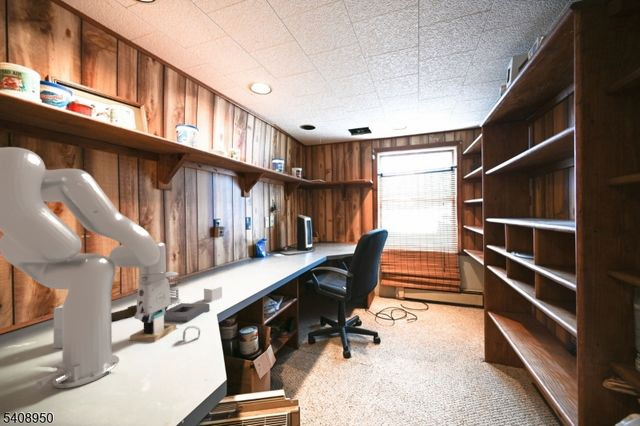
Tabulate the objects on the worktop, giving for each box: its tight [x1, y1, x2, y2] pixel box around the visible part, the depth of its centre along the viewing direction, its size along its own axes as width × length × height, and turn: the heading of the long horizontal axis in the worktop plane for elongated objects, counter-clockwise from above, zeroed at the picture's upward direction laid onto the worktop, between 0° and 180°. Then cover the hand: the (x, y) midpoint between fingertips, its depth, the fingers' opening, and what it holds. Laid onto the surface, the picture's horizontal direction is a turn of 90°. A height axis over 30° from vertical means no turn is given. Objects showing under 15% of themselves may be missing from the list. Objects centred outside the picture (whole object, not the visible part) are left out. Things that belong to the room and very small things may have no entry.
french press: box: [166, 251, 182, 306], centre depth 120 cm, size 10×12×25 cm
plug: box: [144, 312, 165, 335], centre depth 84 cm, size 4×4×7 cm
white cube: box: [203, 285, 223, 302], centre depth 123 cm, size 6×6×6 cm
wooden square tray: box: [128, 323, 179, 343], centre depth 84 cm, size 10×10×2 cm
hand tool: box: [111, 304, 143, 322], centre depth 100 cm, size 19×4×5 cm, turn 134°
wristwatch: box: [182, 325, 201, 342], centre depth 80 cm, size 3×5×5 cm, turn 111°
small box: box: [53, 304, 63, 349], centre depth 82 cm, size 8×6×13 cm
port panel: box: [164, 302, 211, 323], centre depth 101 cm, size 14×14×3 cm
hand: (154, 329), depth 84 cm, fingers closed on plug, 3 cm apart
